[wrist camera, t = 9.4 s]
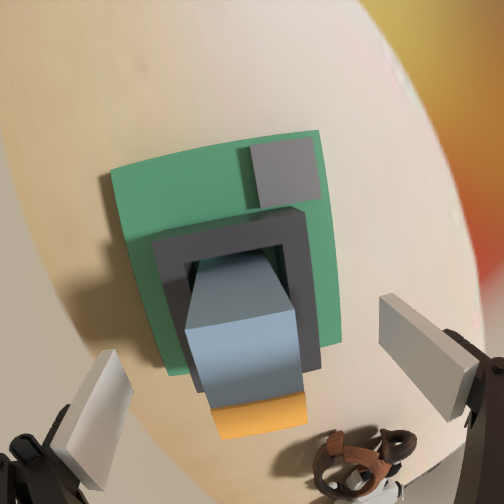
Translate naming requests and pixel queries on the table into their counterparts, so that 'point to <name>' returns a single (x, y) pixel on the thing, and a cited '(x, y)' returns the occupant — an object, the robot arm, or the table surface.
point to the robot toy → (381, 497)
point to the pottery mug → (362, 460)
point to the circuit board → (232, 233)
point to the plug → (246, 345)
